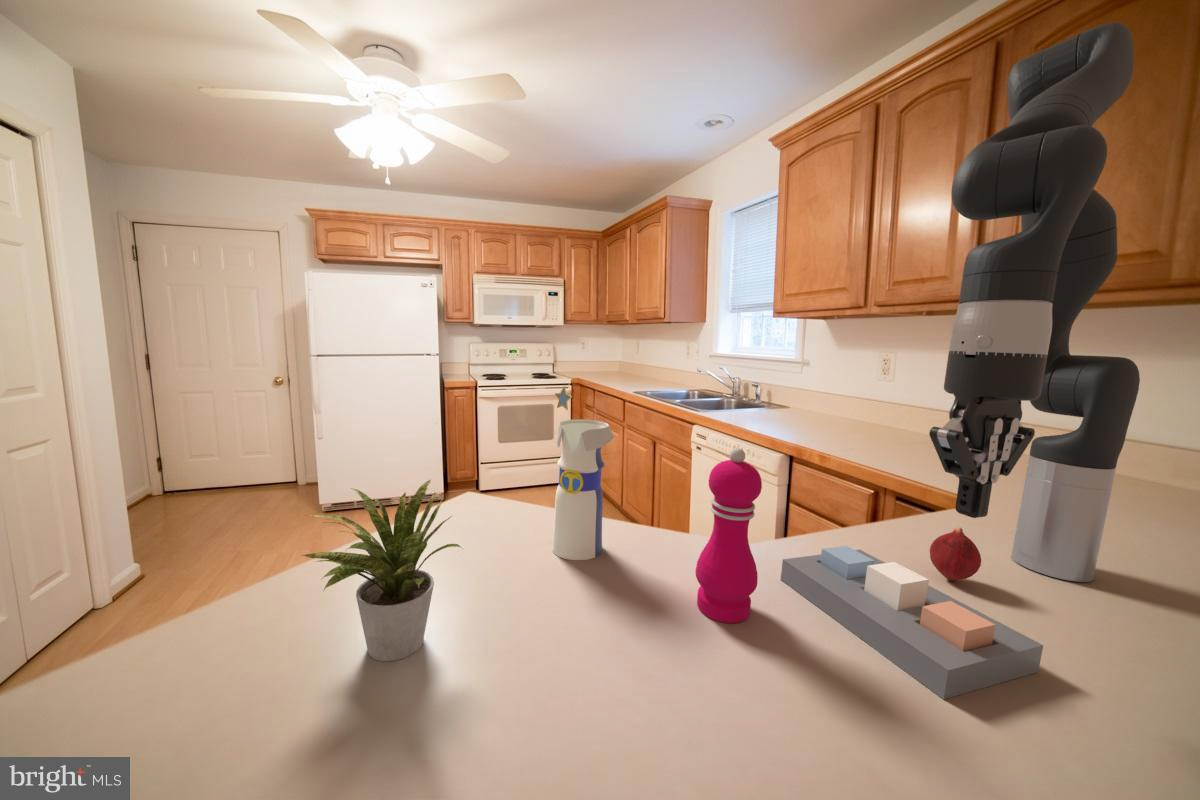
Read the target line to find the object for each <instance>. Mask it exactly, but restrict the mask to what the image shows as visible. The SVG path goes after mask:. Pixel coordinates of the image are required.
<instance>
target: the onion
mask: <svg viewBox="0 0 1200 800" xmlns="http://www.w3.org/2000/svg"><path fill="white" fill-rule="evenodd" d="M963 531H964V530H963V529H962V527H960V526H956V527H954V529H953V531H951V532H947V533H944V534H942V535H939V536H938V537H937V538H935V539H934V540H933V541H932V543H931V544H930V546H929V547H930V548H929V557H930V558H929V559H930V561H931V563H932V565H933V566H934V568H935V569H936V570H937V571H938V572H939V573H940V574H941V575H942V576H943V577H944V578H945V579H946V580H947V581H950V582H956V581H959V580H966V579H969V578H971V577H973V576H974V575H975V574H976V573H977V572H979V570H980V568H981V566H982V557H981V553H980V551H979V549H978V546H976V544H975V542H973V540H972V539H970V538H969V537H968V536H966V534H965V533H964V532H963Z"/></svg>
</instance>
